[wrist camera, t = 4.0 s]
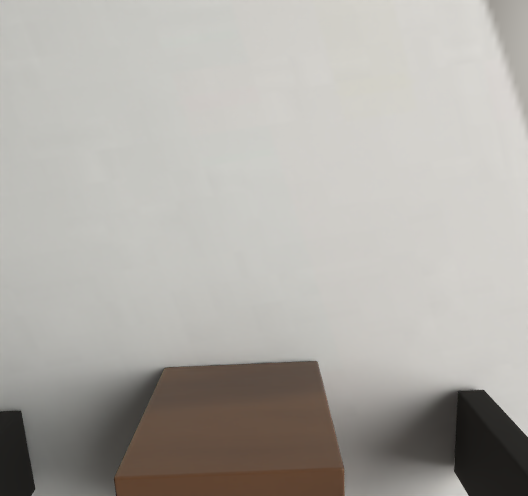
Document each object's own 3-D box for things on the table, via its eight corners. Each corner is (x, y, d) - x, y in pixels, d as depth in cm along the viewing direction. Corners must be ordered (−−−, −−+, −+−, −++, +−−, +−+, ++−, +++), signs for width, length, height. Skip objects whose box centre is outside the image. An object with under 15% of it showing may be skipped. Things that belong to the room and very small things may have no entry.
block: (164, 366, 13) (113, 477, 9) (317, 360, 13) (344, 468, 9) (178, 497, 14) (138, 657, 10) (320, 492, 14) (346, 650, 10)
